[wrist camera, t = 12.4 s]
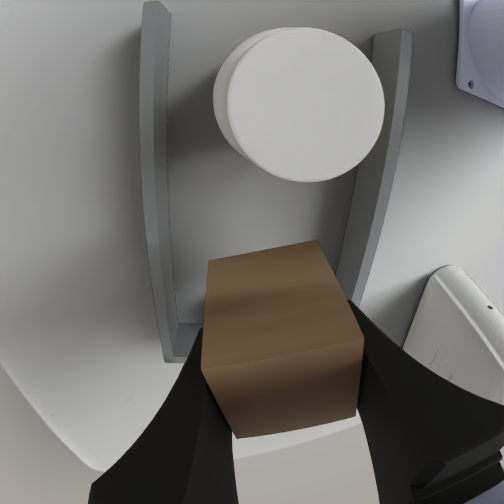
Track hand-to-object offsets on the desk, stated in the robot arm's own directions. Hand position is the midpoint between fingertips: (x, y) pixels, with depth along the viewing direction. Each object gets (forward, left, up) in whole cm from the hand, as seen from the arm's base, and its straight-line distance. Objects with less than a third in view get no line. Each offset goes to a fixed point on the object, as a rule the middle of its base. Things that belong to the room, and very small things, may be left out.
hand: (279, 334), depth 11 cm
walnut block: (0, 0, -2) cm, 2 cm away
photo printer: (-15, +7, -8) cm, 18 cm away
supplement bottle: (0, -8, -8) cm, 11 cm away
